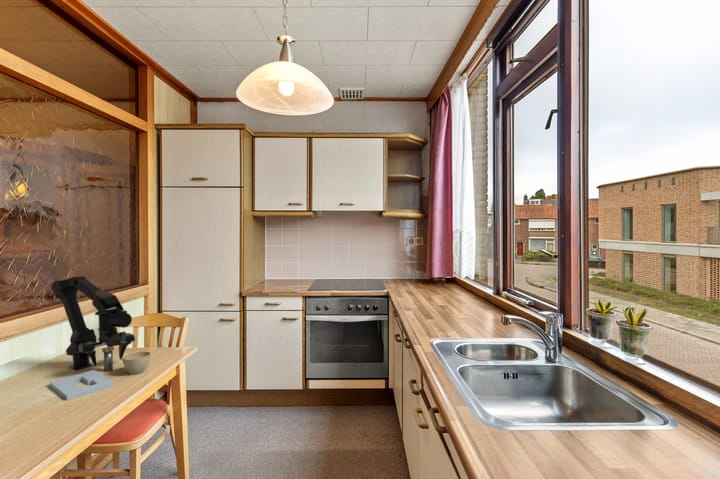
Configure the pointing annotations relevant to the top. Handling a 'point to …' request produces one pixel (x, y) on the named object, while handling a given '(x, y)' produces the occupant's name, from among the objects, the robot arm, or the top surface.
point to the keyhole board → (69, 390)
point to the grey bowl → (136, 361)
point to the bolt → (108, 358)
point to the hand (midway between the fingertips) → (108, 362)
